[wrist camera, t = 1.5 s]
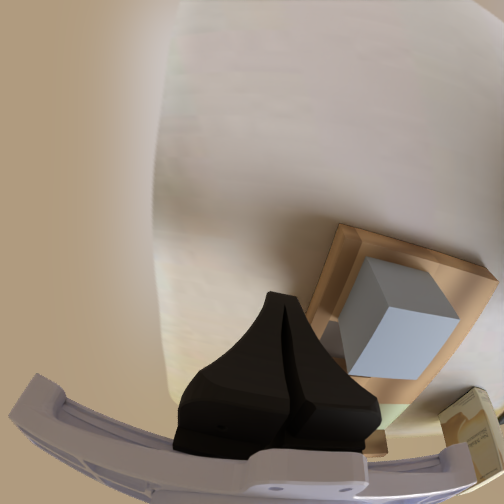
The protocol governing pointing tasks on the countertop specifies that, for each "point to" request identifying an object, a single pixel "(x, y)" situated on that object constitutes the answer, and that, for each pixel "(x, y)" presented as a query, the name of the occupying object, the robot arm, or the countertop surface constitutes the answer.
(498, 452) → the skincare box
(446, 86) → the countertop surface
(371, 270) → the block
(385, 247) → the board
